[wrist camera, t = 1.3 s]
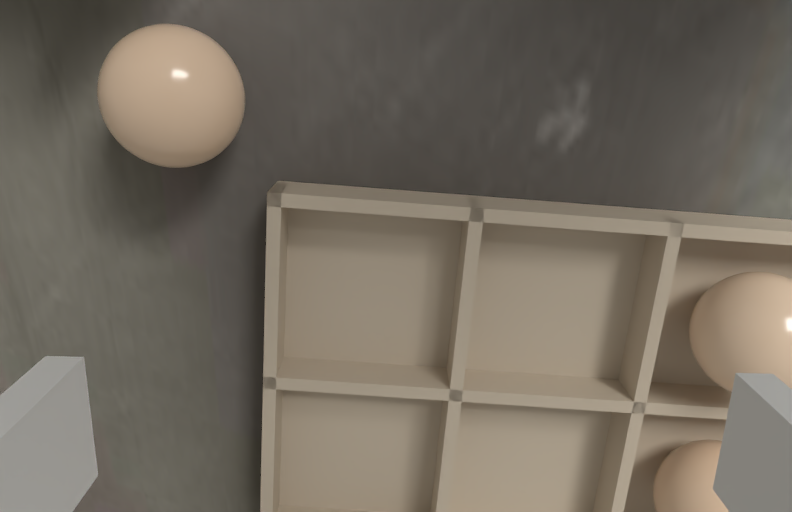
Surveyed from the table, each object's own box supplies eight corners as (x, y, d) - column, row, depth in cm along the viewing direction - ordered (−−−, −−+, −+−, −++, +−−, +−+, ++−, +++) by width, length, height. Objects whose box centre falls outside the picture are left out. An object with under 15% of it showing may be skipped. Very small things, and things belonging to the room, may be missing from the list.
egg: (127, 21, 28) (65, 13, 23) (258, 32, 28) (227, 26, 23) (132, 152, 30) (75, 173, 25) (256, 161, 30) (226, 184, 25)
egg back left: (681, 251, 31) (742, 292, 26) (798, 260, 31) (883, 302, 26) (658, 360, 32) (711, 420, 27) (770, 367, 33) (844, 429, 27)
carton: (277, 180, 30) (267, 192, 28) (840, 223, 31) (880, 238, 28) (269, 507, 35) (259, 543, 33) (751, 537, 36) (779, 574, 34)
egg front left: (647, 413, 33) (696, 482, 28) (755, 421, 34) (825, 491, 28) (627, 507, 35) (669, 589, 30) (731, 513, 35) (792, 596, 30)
